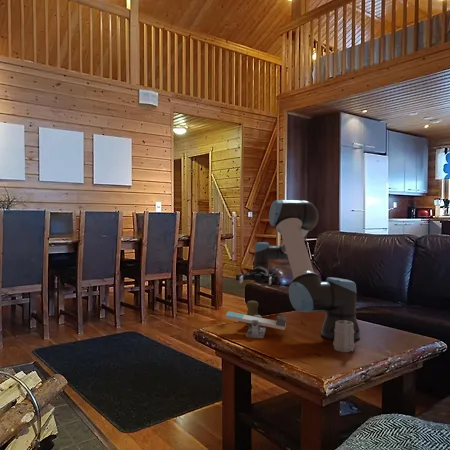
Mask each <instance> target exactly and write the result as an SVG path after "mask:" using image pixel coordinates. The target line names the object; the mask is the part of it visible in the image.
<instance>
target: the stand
mask: <svg viewBox="0 0 450 450" xmlns="http://www.w3.org/2000/svg"><path fill="white" fill-rule="evenodd" d="M255 317H259V318H261V317H262V316H261V314H258V315H255ZM266 332H267V327H261V325H258V320H252V327H248V330H247V332H246V334H245V338H250V339H251V338H252V339H264V338H265V335H266Z"/></svg>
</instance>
